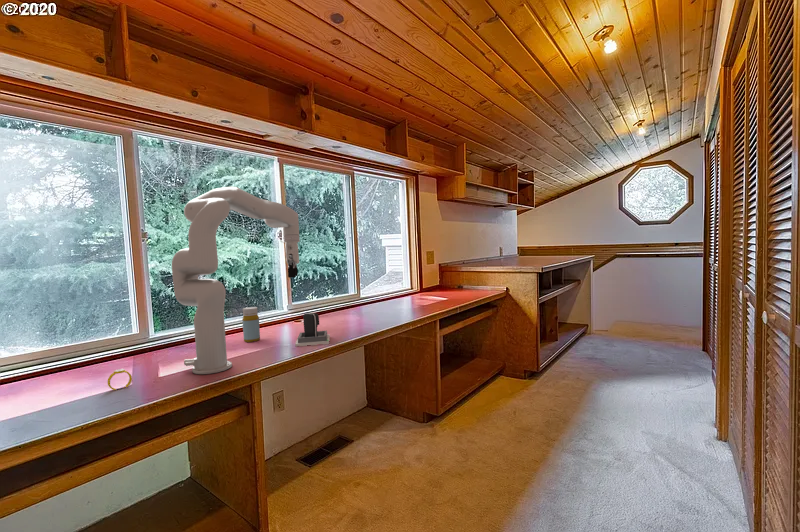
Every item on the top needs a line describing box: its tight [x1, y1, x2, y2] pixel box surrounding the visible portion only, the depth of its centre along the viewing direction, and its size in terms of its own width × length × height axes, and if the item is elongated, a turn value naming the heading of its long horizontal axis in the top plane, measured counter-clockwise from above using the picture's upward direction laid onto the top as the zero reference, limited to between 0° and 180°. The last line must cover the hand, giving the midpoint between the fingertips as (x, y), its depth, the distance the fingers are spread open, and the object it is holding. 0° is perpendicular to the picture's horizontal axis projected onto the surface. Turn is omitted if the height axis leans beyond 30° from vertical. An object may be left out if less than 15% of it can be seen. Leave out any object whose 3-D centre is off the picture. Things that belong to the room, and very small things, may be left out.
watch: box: [107, 368, 133, 391], centre depth 122 cm, size 6×3×6 cm, turn 139°
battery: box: [302, 312, 320, 337], centre depth 173 cm, size 7×4×11 cm, turn 54°
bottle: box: [242, 306, 261, 343], centre depth 180 cm, size 7×7×15 cm
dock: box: [295, 330, 331, 348], centre depth 173 cm, size 14×14×3 cm
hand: (293, 276), depth 180 cm, fingers open, 9 cm apart
